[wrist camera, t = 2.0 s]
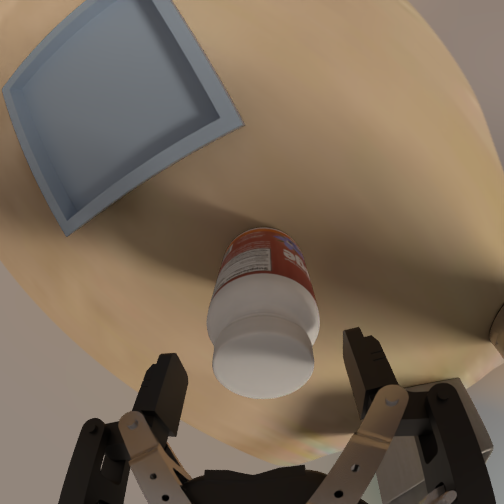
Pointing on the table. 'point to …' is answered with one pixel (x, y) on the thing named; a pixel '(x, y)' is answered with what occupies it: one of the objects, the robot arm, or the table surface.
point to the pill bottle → (263, 316)
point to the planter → (408, 461)
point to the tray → (114, 104)
